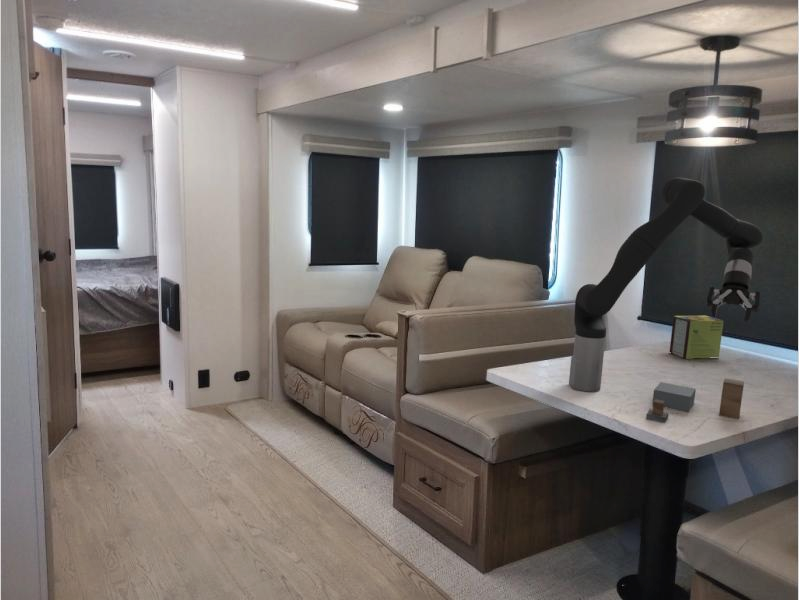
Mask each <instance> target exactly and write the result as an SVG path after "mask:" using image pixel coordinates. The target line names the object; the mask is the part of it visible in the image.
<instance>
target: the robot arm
mask: <svg viewBox="0 0 799 600" xmlns="http://www.w3.org/2000/svg"><path fill="white" fill-rule="evenodd" d="M705 195H706V188H705V186H704V184H703V183H702V182H700V181H698V180H695V179H690V178H685V177H673V178H670V179H668V180H667V181H666V182H664V185H663V186H662V188H661V197H662V200H663V202H664V203H665V204H666V205H668V206H666V208H665V209H664V210H663V211H662V212H661V213H660V214H658V215H657V216H656V217H654V218H652V219H650V220H649V221H647V222H645V223H643V224H642V225H640V226H638V227H637V228H636V229H634V230H633V231H632V232H631V234H630V235H629V236H627V238H626V240H625V241H624V242H623V243H622V244H621V246H620V247H619V249H618V252H617V253H616V255H615V258H614V262H613V263H612V266H611V268H610V270H609V271H608V273H607V274H606V275H605V276H604V277H603V278H602V279H601V281H600V282H599V283H598V284H595V283H594V284H593V283H588V284H585V285H583V286H582V287H580V288H579V289H578V291H577V293H576V296H575V301H574V304H575V305H574V319H573V320H574V322H573V323H574V327H575V333H574V334H575V335H574V344H573V355H571V357H570V367H569V379H568V384H569V386H570V387H571V388H572V389H573V390H576V391H582V392H590V391H593V392H599V391H601V385H602V376H603V368H604V367H603V364H604V357H605V355H604V354H605V346H606V339H607V338H606V336H607V328H606V326H605V324H604V320H603V316H605V315H606V314H608V313H609V312H610V311H611V310H612V308H613V307H614V306H615V304H616V303H617V301H618V300H619V298H620V297H621V295H622V294H623V292H624V291H625V289H627V287H628V285H629V284H630V283H631V282H632V281H633V280H634V278H636V276H637V275H638V274H639V273H640V271H641V270H643V267H644V266H645V265H646V264H647V263H648V262H649V261H650V260H651V259H652V258H653V256H655V254H656V253H657V252H658V250H659V249H660V247H661V246H662V245H663V244H664V243H665V242H666V241H667V239H668V238H669V237H670V236H671V235H672V234H673V233H674V231H675V230H677V229H678V227H679V226H680V225H681V224H682V223H683V222H684V221H685V220H686V219H687V218H688V217H689V216H691V217H693V218H694V219H696V220H697V221H699V222H700V223H702V224H703V225H705V226H706V227H708V228H709V229H710V230H711V231H713V232H714V233H716V234H717V235H719V236H720V237H721V238H723V239H725V244H726V248H727V255H728V257H727V262H726V267H725V269H724V273H723V278H722V284H721V288H720V289H716V288H715V287H714V286H711V287H710V288H709V290H708V293H707V297H706V306H707V307H710V308H711V309H710V317H712V318H716V319H717V312H718V308H719V307H720V306H723V305H725V304H726V305H736V306H739V305H740V306H741V307H742V308H743V309H744V310H745V315H744V322H745V323H747V322H748V321H750V320H751V315H752V312H756V313H757V312H759V310H760V308H759V307H760V301H761V300H760V298H761V297H760V296H761V292H760V291H755V292H750V286H751V280H752V273H753V270H752V266H753V261H754V253H753V252H752V250H751V249H752V248H755V247H757V246H760V244H761V243H762V242H763V240H764V234H763V231H762V230H761V229H760V228H759V227H758V226H756V225H755V224H753V223H751V222H747V221H745V220H742V219H738V218H737V217H735V216H734V215H732V214H731V213H729V212H728V211H727V210H725V209H724V208H721V207H720V206H718V205H715V204H713V203H712V202H709V201H707V200H705V199H704V197H705ZM718 294H719V295H718ZM717 295H718V297H717V298H716V299H715V300H713V299H714V297H716V296H717ZM749 298H751V300H752V301H754V304H753V305H752V304H751V303H750V302H749V300H748V299H749Z"/></svg>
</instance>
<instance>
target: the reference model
mask: <svg viewBox="0 0 799 600" xmlns="http://www.w3.org/2000/svg"><path fill="white" fill-rule="evenodd" d="M652 402H653V401H652ZM664 402H665V401H662V400H657V399H655V400H654V402H653V405H652V409H651V408H649V410H648V411H647V413H646V416H645V419H646V420H649V419H650V420H649V421H653V420H654V422H658V421H659V422H658V423H664V424H665V422H666V423H667V420H668V419H669V412H667V411H664V410H665V409H664V408H665V407H664Z"/></svg>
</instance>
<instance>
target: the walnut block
mask: <svg viewBox="0 0 799 600" xmlns="http://www.w3.org/2000/svg"><path fill="white" fill-rule="evenodd" d="M744 384H745V381H744V380H739V379H733V378H727V377H724V380H723V383H722V390H721V399H720V404H719V413H718V416H719V417H724V418H727V419H728V418H729V419H735V420H739V419H740V413H741V407H742V400H743V394H744V386H745V385H744Z"/></svg>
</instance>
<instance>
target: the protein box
mask: <svg viewBox="0 0 799 600" xmlns="http://www.w3.org/2000/svg"><path fill="white" fill-rule="evenodd" d="M672 319H673V320H672V326H671V327H672V328H671V334H670V335H671V336H670V344H669V345H670V346H669V352H671V353H673V354H672V355H674V354H675V355H674V356H677V355H678V356H677V357H679V356H680V357H679V358H682V357H683V358H682V359H684V358H685V360H694V359H693V358H710V357H720V352H721V345H722V336H723V328H724V320H723V319H719V318H717V317H716V318H713V316H708V315H674V316H673V318H672ZM671 353H670V354H671Z"/></svg>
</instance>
